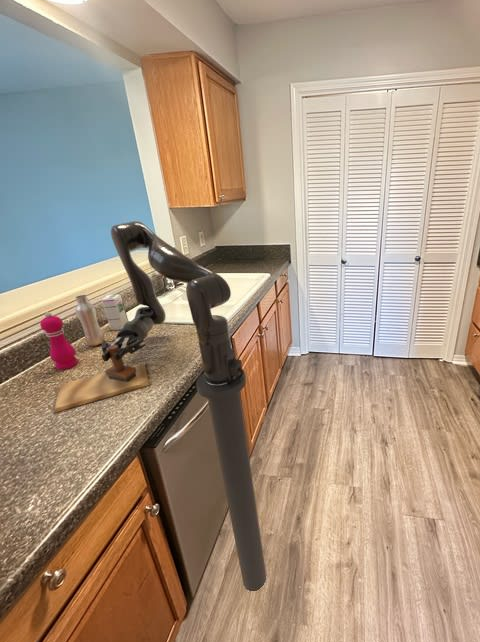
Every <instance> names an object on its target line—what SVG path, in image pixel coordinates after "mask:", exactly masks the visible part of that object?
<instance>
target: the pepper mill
mask: <svg viewBox="0 0 480 642" xmlns="http://www.w3.org/2000/svg"><path fill="white" fill-rule="evenodd" d="M63 325H64V322H63V320H62V318H61V317H60V316H57V315H52V312H50V311H48V312H47V311H46V313H44V318H42V319H41V320H40V323H39V326H40V328H41V330H42V331H43V332H44V333H45V335H46V337H47V338H48V339H49V342H50V349H49V350H50V351H49V357H50V360H51V361H52V362H54V365H55V368H56V369H57V370H61V371H63V370H67V369H71V368H73V367H75V366H76V365H77V364H78V359H77V357H76V356H75V355H76V353H77V352H76V349H75V347H74V346H73V345H72V344H71V343H70V342H69V341H68V340H67V338H66V337H65V335H64V333H65V330H64V328H63Z"/></svg>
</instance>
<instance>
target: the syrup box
mask: <svg viewBox="0 0 480 642" xmlns="http://www.w3.org/2000/svg"><path fill="white" fill-rule="evenodd" d="M101 303H102V306H103V310H104V312H105V315H106V319H107V321H108V324H109V328H110V330H111V331H120V330H121V329H122V328H123V327H125V326H126V325H127V324H128V323H129V322H130V321H129V318H128V315H127V311H126V308H125V305H124V302H123V298H122V295H121V294H118V293H115V294H107V295H106V296H105V297H104V298H102V299H101Z"/></svg>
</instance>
